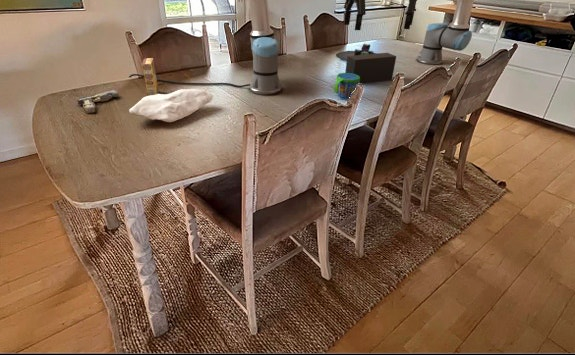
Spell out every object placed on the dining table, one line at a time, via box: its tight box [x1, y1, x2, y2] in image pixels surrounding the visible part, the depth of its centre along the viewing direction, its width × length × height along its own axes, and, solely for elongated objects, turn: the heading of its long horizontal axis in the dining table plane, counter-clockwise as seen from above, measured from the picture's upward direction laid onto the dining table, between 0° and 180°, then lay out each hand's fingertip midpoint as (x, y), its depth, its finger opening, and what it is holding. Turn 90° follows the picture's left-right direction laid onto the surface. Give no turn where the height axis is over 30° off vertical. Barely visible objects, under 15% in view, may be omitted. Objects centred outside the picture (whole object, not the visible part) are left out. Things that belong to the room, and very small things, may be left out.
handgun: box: [76, 89, 120, 114], centre depth 155 cm, size 3×18×15 cm
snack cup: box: [333, 72, 360, 100], centre depth 170 cm, size 16×10×10 cm
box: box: [344, 52, 397, 85], centre depth 194 cm, size 26×8×13 cm, turn 115°
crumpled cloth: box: [129, 88, 214, 123], centre depth 147 cm, size 24×35×9 cm
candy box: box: [141, 57, 160, 96], centre depth 163 cm, size 9×4×15 cm, turn 13°
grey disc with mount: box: [335, 43, 378, 62], centre depth 234 cm, size 35×35×9 cm
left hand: (351, 27), depth 180 cm, fingers open, 13 cm apart
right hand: (407, 26), depth 184 cm, fingers open, 13 cm apart
